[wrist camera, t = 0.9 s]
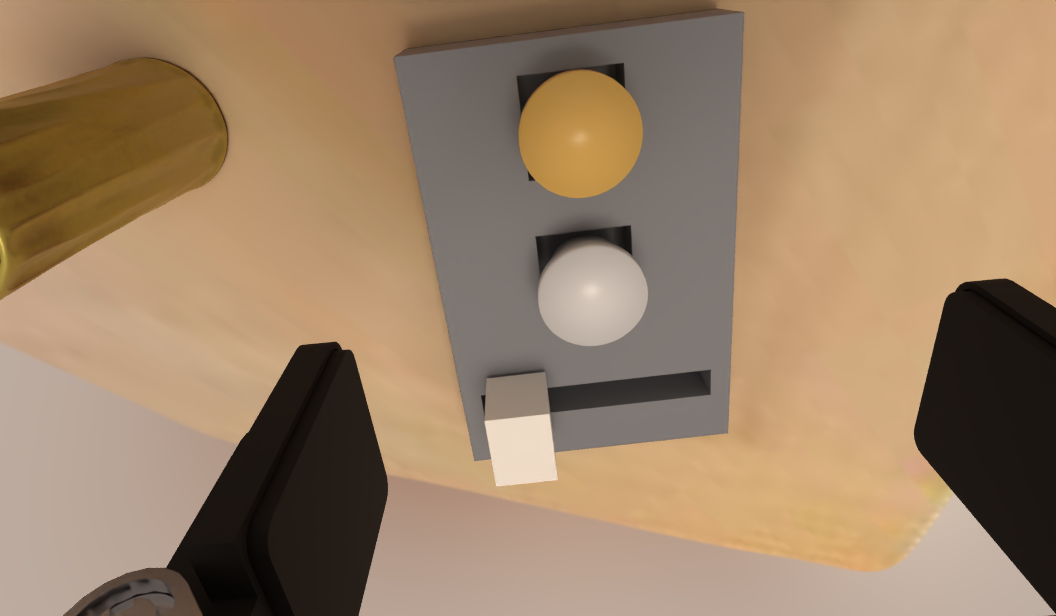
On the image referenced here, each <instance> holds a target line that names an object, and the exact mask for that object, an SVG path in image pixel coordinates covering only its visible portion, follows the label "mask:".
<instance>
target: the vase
mask: <svg viewBox="0 0 1056 616" xmlns="http://www.w3.org/2000/svg"><path fill="white" fill-rule="evenodd" d="M226 150H227V131H226V126H225V123H224V120H223V117H222V115H221V112H220V110H219V108H218V106H217V104H216V103H215V101H214V99H213V98H212V96H211V95H210V93H209V92H208V91H207V90H206V89H205V88H204V87H203V86H202V85H201V84H200V83H199V82H198V81H197V80H196V79H195V78H194V77H192V76H191V75H190V74H188V73H187V72H185V71H183V70H182V69H180V68H178V67H176V66H174V65H172V64H169V63H166V62H163V61H160V60H156V59H151V58H139V59H131V60H124V61H119V62H116V63H114V64H112V65H110V66H108V67H105V68H102V69H98V70H95V71H91V72H87V73H84V74H81V75H78V76H74V77H71V78H68V79H64V80H61V81H58V82H55V83H51V84H48V85H45V86H41V87H38V88H34V89H30V90H27V91H24V92H20V93H17V94H13V95H10V96H6V97H3V98H0V300H1V299H3V298H4V297H6V296H7V295H9V294H11V293H12V292H14V291H16V290H17V289H19V288H20V287H22V286H24V285H25V284H27V283H28V282H30V281H32V280H33V279H35V278H36V277H38V276H39V275H41V274H43V273H44V272H46V271H47V270H49V269H51V268H52V267H54V266H56V265H57V264H59V263H61V262H62V261H64V260H66V259H67V258H69V257H71V256H73V255H74V254H76V253H78V252H79V251H81V250H82V249H84V248H86V247H88V246H89V245H91V244H93V243H94V242H96V241H98V240H100V239H101V238H103V237H105V236H107V235H108V234H110V233H112V232H114V231H116V230H117V229H119V228H121V227H123V226H125V225H126V224H128V223H130V222H131V221H133V220H135V219H136V218H138V217H140V216H142V215H144V214H146V213H148V212H150V211H152V210H154V209H156V208H158V207H160V206H162V205H164V204H166V203H167V202H169V201H171V200H173V199H175V198H176V197H178V196H180V195H182V194H184V193H186V192H187V191H190V190H193V189H196V188H198V187H201V186H203V185H205V184H206V183H207V182H209V181H210V180H211V179H212V178H213V177H214V176H215V175H216V174H217V172H218V171H219V169H220V168H221V166H222V164H223V162H224V159H225V155H226Z"/></svg>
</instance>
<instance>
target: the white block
mask: <svg viewBox="0 0 1056 616" xmlns="http://www.w3.org/2000/svg"><path fill="white" fill-rule="evenodd" d="M484 422H485V427H486V433H487V438H488V443H489V449H490V454H491V460H492V465H493V471H494V476H495V481H496V487H497V486H506V485H516V484H525V483H534V482H543V481H553V480H558V479H557V469H556V459H555V449H554V439H553V430H552V422H551V414H550V406H549V397H548V389H547V381H546V373H545V372H540V373H531V374H522V375H513V376H505V377H496V378H487V382H486V400H485V419H484Z"/></svg>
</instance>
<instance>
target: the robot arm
mask: <svg viewBox="0 0 1056 616" xmlns="http://www.w3.org/2000/svg"><path fill="white" fill-rule="evenodd" d="M914 439H915V443H916V445H917V448H918V450H919V451H920V453H921V454H922V455H923V456H924V458H925V459H926V460H927V461H928V462H929V464H930V465H931V466H932V467H933V468H934V470H935V471H936V472H937V473H938V474H939V475H940V477H941V478H942V479H943V480H944V481H945V483H946V484H947V485H948V486H949V487H950V489H951V490H952V491H953V492H954V493H955V495H956V496H957V497H958V498H959V499H960V500H961V501H962V503H963V504H964V505H965V506H966V508H967V509H968V510H969V511H970V512H971V514H972V515H973V516H974V517H975V518H976V519H977V521H978V522H979V523H980V524H981V525H982V527H983V528H984V529H985V530H986V531H987V533H988V534H989V535H990V536H991V537H992V538H993V540H994V541H995V542H996V543H997V544H998V546H999V547H1000V548H1001V549H1002V550H1003V552H1004V553H1005V554H1006V555H1007V556H1008V557H1009V559H1010V560H1011V561H1012V562H1013V563H1014V564H1015V566H1016V567H1017V568H1018V569H1019V570H1020V572H1021V573H1022V574H1023V575H1024V576H1025V578H1026V579H1027V580H1028V581H1029V582H1030V584H1031V585H1032V586H1033V587H1034V588H1035V590H1036V591H1037V592H1038V593H1039V594H1040V595H1041V597H1042V598H1043V599H1044V600H1045V601H1046V603H1047V604H1048V605H1049V606H1050V607H1051V609H1052V610H1053V611H1054V612H1055V613H1056V308H1055V307H1054V306H1052V305H1050V304H1049V303H1047V302H1046V301H1044V300H1042V299H1041V298H1039V297H1037V296H1036V295H1034V294H1033V293H1031V292H1029V291H1028V290H1026V289H1025V288H1023V287H1021V286H1020V285H1018V284H1017V283H1015V282H1013V281H1011V280H1009V279H993V280H982V281H971V282H964V283H962V284H961V285H959V287H958V288H957V289H956V291H955V292H953V293H951V294H949V295H948V297H947V298H946V300H945V303H944V307H943V311H942V315H941V319H940V324H939V328H938V332H937V336H936V340H935V344H934V349H933V353H932V357H931V361H930V365H929V369H928V374H927V378H926V382H925V386H924V390H923V394H922V398H921V403H920V407H919V411H918V415H917V419H916V423H915V428H914ZM387 495H388V482H387V475H386V471H385V468H384V464H383V460H382V457H381V453H380V449H379V446H378V442H377V438H376V435H375V431H374V427H373V423H372V420H371V416H370V412H369V409H368V405H367V401H366V398H365V394H364V390H363V387H362V383H361V379H360V376H359V372H358V368H357V364H356V361H355V357H354V355H353V353H352V351H351V350H342V348H341V347H340V345H339V344H338V343H337V342H328V343H318V344H307V345H300V346H299V347H298V348H297V350H296V351H295V353H294V355H293V357H292V358H291V360H290V362H289V363H288V365H287V367H286V369H285V370H284V372H283V374H282V375H281V377H280V379H279V381H278V382H277V384H276V386H275V388H274V389H273V391H272V393H271V394H270V396H269V398H268V400H267V401H266V403H265V405H264V406H263V408H262V410H261V412H260V413H259V415H258V417H257V419H256V420H255V422H254V424H253V425H252V427H251V429H250V431H249V432H248V433H246V435H245V436H244V437H243V438H242V440H241V441H240V443H239V444H238V446H237V448H236V450H235V451H234V453H233V455H232V456H231V458H230V460H229V461H228V463H227V465H226V467H225V468H224V470H223V472H222V473H221V475H220V477H219V479H218V481H217V482H216V484H215V485H214V487H213V489H212V491H211V492H210V494H209V496H208V497H207V499H206V501H205V503H204V504H203V506H202V508H201V509H200V511H199V513H198V515H197V516H196V518H195V519H194V521H193V523H192V525H191V526H190V528H189V530H188V531H187V533H186V535H185V537H184V538H183V540H182V542H181V543H180V545H179V547H178V548H177V550H176V552H175V554H174V555H173V557H172V559H171V561H170V562H169V564H168V565H167V567H166V568H146V569H142V570H138V571H134V572H130V573H126V574H124V575H122V576H120V577H117V578H115V579H113V580H111V581H109V582H107V583H104V584H103V585H102V586H100V587H98V588H97V589H95V590H94V591H92V592H91V593H89V594H87V595H86V596H84V597H83V598H82V599H81V600H80V601H79V602H77V603H76V604H75V605H74V606H73V607H72V608H71V609H70V610H69V611H68V612H66V613H65V614H64V615H63V616H358V615H359V611H360V607H361V603H362V599H363V594H364V591H365V587H366V582H367V578H368V574H369V570H370V566H371V562H372V558H373V554H374V550H375V545H376V541H377V538H378V533H379V529H380V524H381V521H382V517H383V513H384V509H385V505H386V501H387ZM1051 616H1056V615H1051Z"/></svg>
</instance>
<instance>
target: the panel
mask: <svg viewBox="0 0 1056 616" xmlns="http://www.w3.org/2000/svg"><path fill="white" fill-rule="evenodd" d="M743 30H744V12H738V11H731V10H723V9H713V10H705V11H697V12H690V13H682V14H674V15H666V16H659V17H651V18H643V19H635V20H627V21H620V22H612V23H604V24H596V25H589V26H581V27H573V28H565V29H558V30H550V31H542V32H534V33H526V34H519V35H511V36H503V37H495V38H488V39H480V40H472V41H464V42H456V43H449V44H441V45H433V46H425V47H418V48H410V49H405V50H404V51H402V52H401V53H399V54H398V55H396V56H395V57H393V58H394V63H395V68H396V73H397V78H398V83H399V88H400V93H401V98H402V103H403V108H404V113H405V118H406V123H407V128H408V133H409V138H410V143H411V148H412V153H413V158H414V162H415V167H416V172H417V177H418V182H419V187H420V192H421V197H422V202H423V207H424V212H425V217H426V222H427V227H428V232H429V237H430V242H431V247H432V252H433V257H434V262H435V267H436V272H437V277H438V282H439V287H440V292H441V297H442V302H443V307H444V312H445V317H446V322H447V327H448V332H449V337H450V342H451V347H452V352H453V357H454V362H455V367H456V372H457V377H458V382H459V387H460V392H461V397H462V402H463V407H464V411H465V416H466V421H467V426H468V431H469V436H470V441H471V446H472V451H473V456H474V461H479V460H488V459H491V454H490V449H489V443H488V438H487V433H486V427H485V422H484V419H485V400H486V382H487V378H496V377H505V376H513V375H522V374H531V373H540V372H545V373H546V381H547V389H548V397H549V406H550V414H551V422H552V430H553V439H554V449H555V452H561V451H570V450H579V449H589V448H598V447H607V446H616V445H625V444H634V443H643V442H653V441H662V440H671V439H680V438H689V437H698V436H707V435H716V434H726V433H728V421H729V395H730V369H731V343H732V317H733V291H734V265H735V238H736V212H737V186H738V160H739V134H740V108H741V82H742V56H743ZM578 69H585V70H593V71H597V72H600V73H603V74H605V75H607V76H609V77H611V78H613V79H614V80H615V81H617V82H618V83H619V84H620V85H622V86H623V87H624V88H625V89H626V90H627V91H628V92H629V94H630V95H631V96H632V98H633V99H634V101H635V103H636V105H637V107H638V109H639V112H640V115H641V119H642V125H643V140H642V146H641V150H640V153H639V156H638V158H637V160H636V162H635V164H634V166H633V168H632V169H631V171H630V172H629V173H628V174H627V176H626V177H625V178H624V179H623V180H622V181H621V182H620V183H618V184H617V185H616V186H614V187H613V188H611V189H610V190H608V191H606V192H604V193H601V194H599V195H596V196H592V197H586V198H570V197H565V196H561V195H558V194H555V193H553V192H551V191H549V190H547V189H546V188H544V187H543V186H541V185H540V184H539V183H538V182H537V181H536V180H535V179H534V178H533V177H532V176H531V174H530V173H529V171H528V170H527V168H526V166H525V164H524V162H523V159H522V156H521V153H520V147H519V135H518V131H519V122H520V117H521V114H522V111H523V108H524V106H525V104H526V102H527V101H528V99H529V98H530V96H531V95H532V93H533V92H534V91H535V90H536V89H537V88H538V87H539V86H540V85H541V84H542V83H543V82H545V81H546V80H548V79H549V78H551V77H553V76H555V75H557V74H559V73H562V72H565V71H570V70H578ZM580 235H594V236H599V237H602V238H604V239H606V240H608V241H609V242H611V243H612V244H615V245H617V246H619V247H621V248H623V249H624V250H626V251H627V252H628V253H629V254H631V255H632V256H633V258H634V259H635V260H636V261H637V263H638V264H639V266H640V268H641V270H642V272H643V275H644V277H645V279H646V283H647V287H648V300H647V306H646V309H645V312H644V314H643V316H642V318H641V319H640V321H639V322H638V323H637V325H636V326H635V327H634V328H633V329H632V330H631V331H630V332H629V333H627V334H626V335H624V336H623V337H621V338H619V339H618V340H616V341H613V342H611V343H607V344H604V345H598V346H581V345H576V344H573V343H569V342H567V341H565V340H563V339H561V338H560V337H558V336H557V335H555V334H554V333H553V332H552V331H551V330H550V329H549V328H548V327H547V325H546V324H545V322H544V320H543V318H542V316H541V313H540V310H539V304H538V283H539V279H540V276H541V274H542V271H543V270H544V268H545V266H546V265H547V264H548V262H549V261H550V259H551V256H552V255H553V253H554V252H555V250H556V249H557V248H558V247H559V246H560V245H561V244H562V243H564V242H565V241H567V240H568V239H571V238H573V237H576V236H580Z"/></svg>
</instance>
